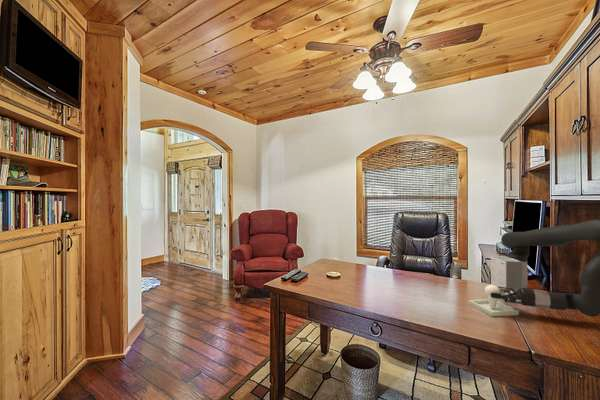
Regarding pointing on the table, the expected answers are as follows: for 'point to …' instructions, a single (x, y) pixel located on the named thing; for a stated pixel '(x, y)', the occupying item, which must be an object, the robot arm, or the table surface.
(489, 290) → the lightbulb
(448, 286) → the table surface
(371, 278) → the table surface
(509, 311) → the tray
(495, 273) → the hard drive box
